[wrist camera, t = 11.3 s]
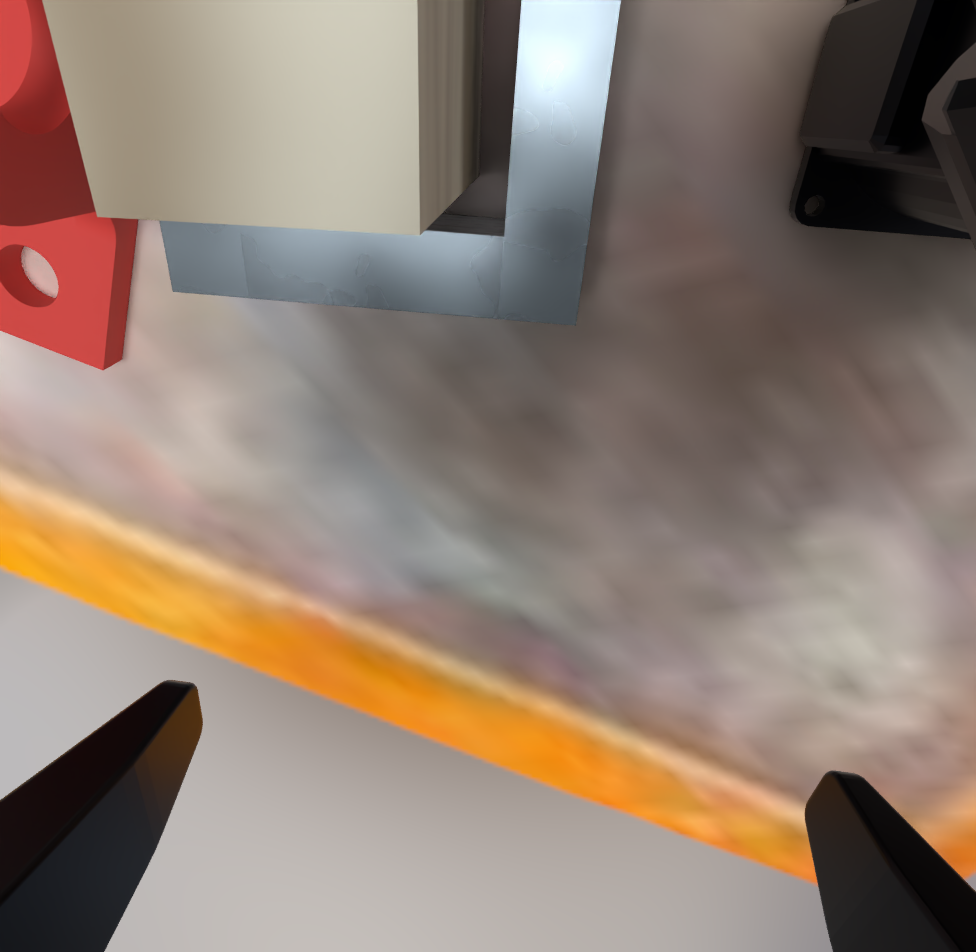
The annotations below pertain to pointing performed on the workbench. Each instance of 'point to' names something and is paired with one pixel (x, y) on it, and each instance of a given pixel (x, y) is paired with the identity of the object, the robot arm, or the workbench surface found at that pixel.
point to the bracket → (54, 207)
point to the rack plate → (453, 238)
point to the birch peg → (274, 108)
